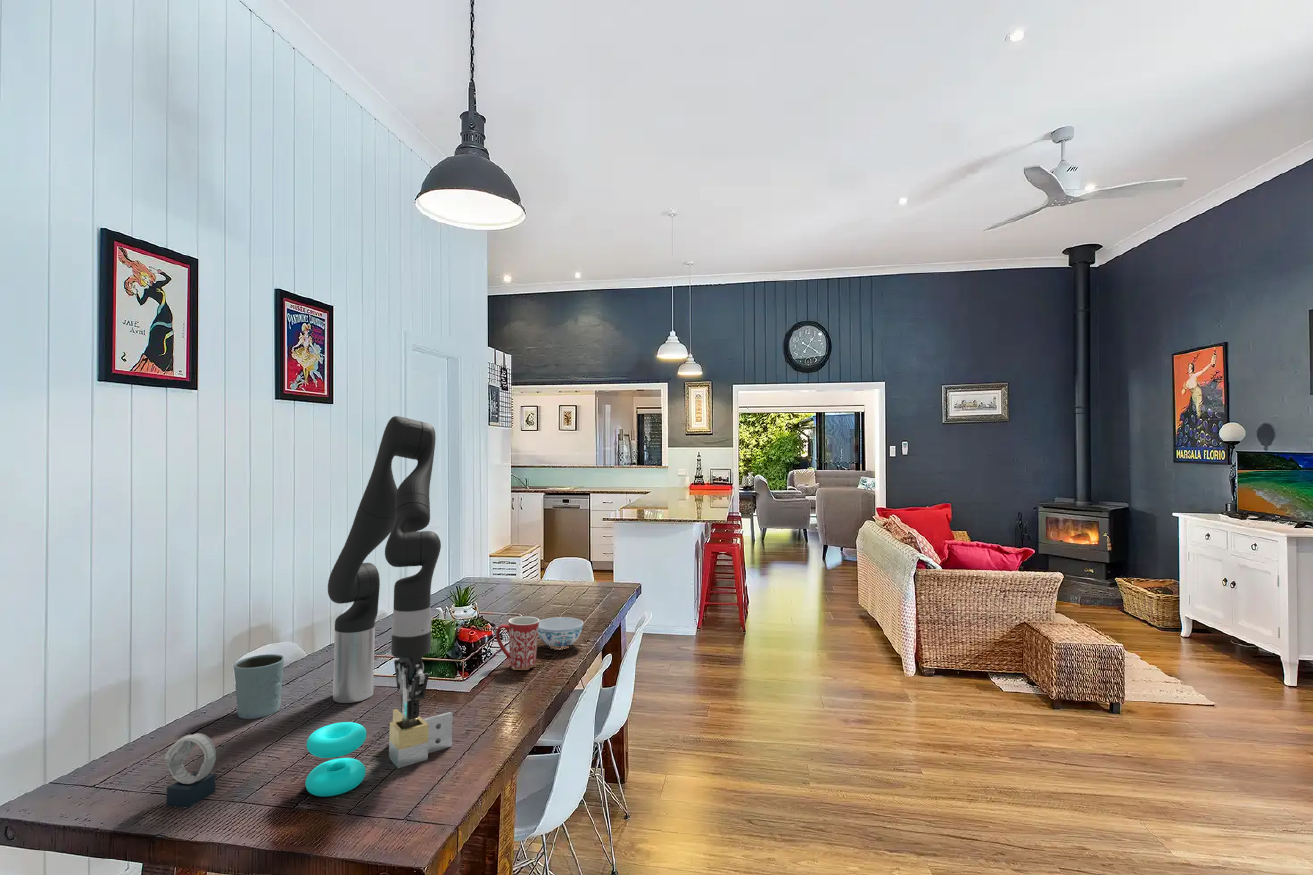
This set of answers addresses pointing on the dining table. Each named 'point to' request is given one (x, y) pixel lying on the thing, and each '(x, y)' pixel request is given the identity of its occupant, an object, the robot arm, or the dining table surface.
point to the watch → (197, 783)
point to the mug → (520, 641)
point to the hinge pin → (405, 721)
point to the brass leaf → (407, 732)
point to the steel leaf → (436, 741)
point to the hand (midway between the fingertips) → (409, 715)
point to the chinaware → (559, 630)
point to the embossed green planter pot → (258, 685)
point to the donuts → (340, 771)
